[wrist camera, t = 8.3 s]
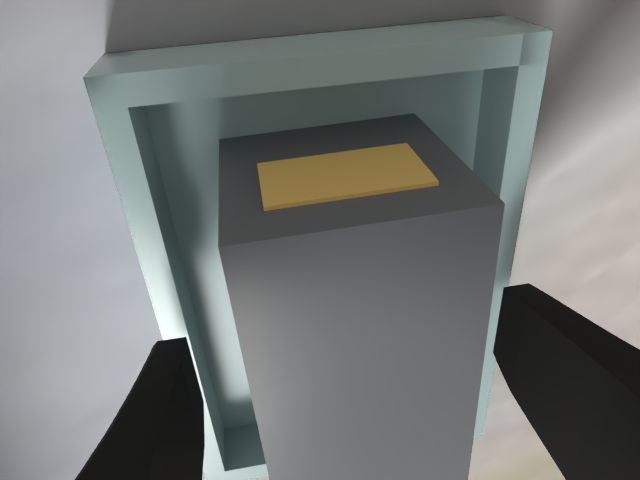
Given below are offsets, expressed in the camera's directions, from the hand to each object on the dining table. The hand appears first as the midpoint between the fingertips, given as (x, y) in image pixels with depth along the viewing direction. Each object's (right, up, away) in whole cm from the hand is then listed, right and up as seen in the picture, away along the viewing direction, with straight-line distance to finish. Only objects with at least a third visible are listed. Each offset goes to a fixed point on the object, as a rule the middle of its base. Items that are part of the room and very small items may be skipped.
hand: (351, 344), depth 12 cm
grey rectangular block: (0, +2, +2) cm, 3 cm away
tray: (0, +2, +3) cm, 3 cm away
